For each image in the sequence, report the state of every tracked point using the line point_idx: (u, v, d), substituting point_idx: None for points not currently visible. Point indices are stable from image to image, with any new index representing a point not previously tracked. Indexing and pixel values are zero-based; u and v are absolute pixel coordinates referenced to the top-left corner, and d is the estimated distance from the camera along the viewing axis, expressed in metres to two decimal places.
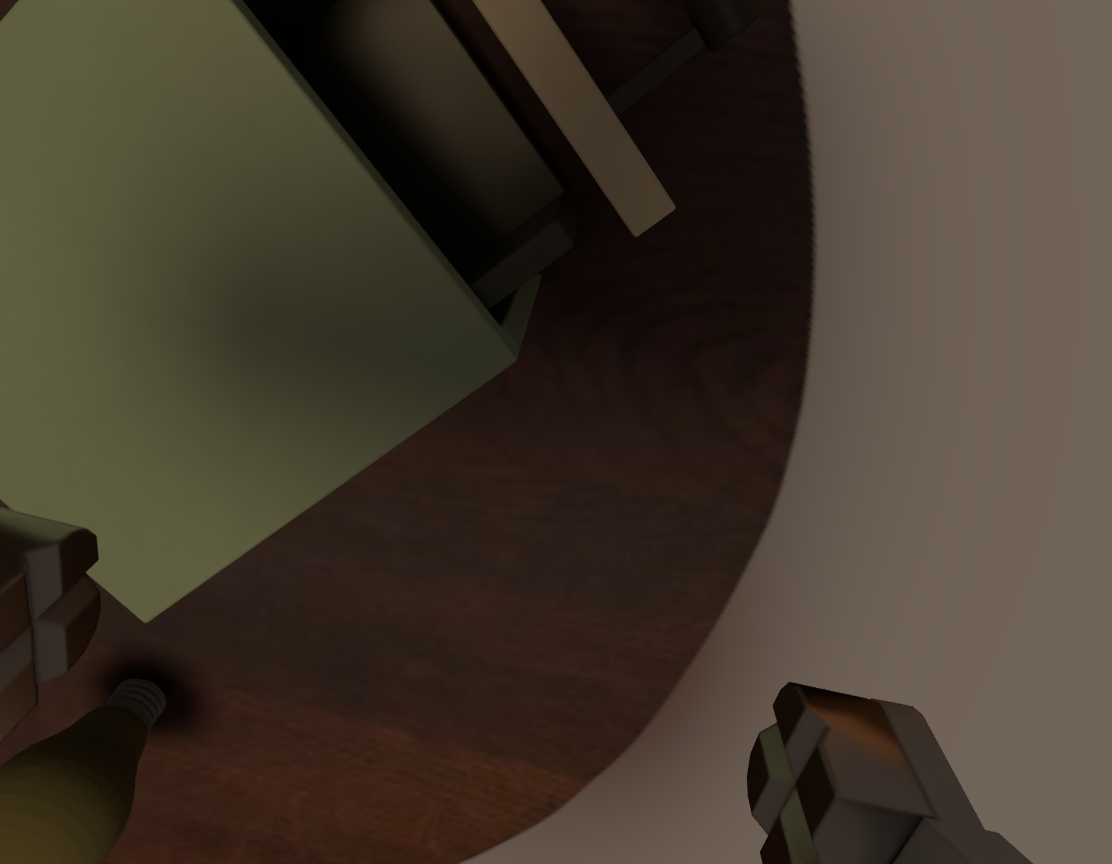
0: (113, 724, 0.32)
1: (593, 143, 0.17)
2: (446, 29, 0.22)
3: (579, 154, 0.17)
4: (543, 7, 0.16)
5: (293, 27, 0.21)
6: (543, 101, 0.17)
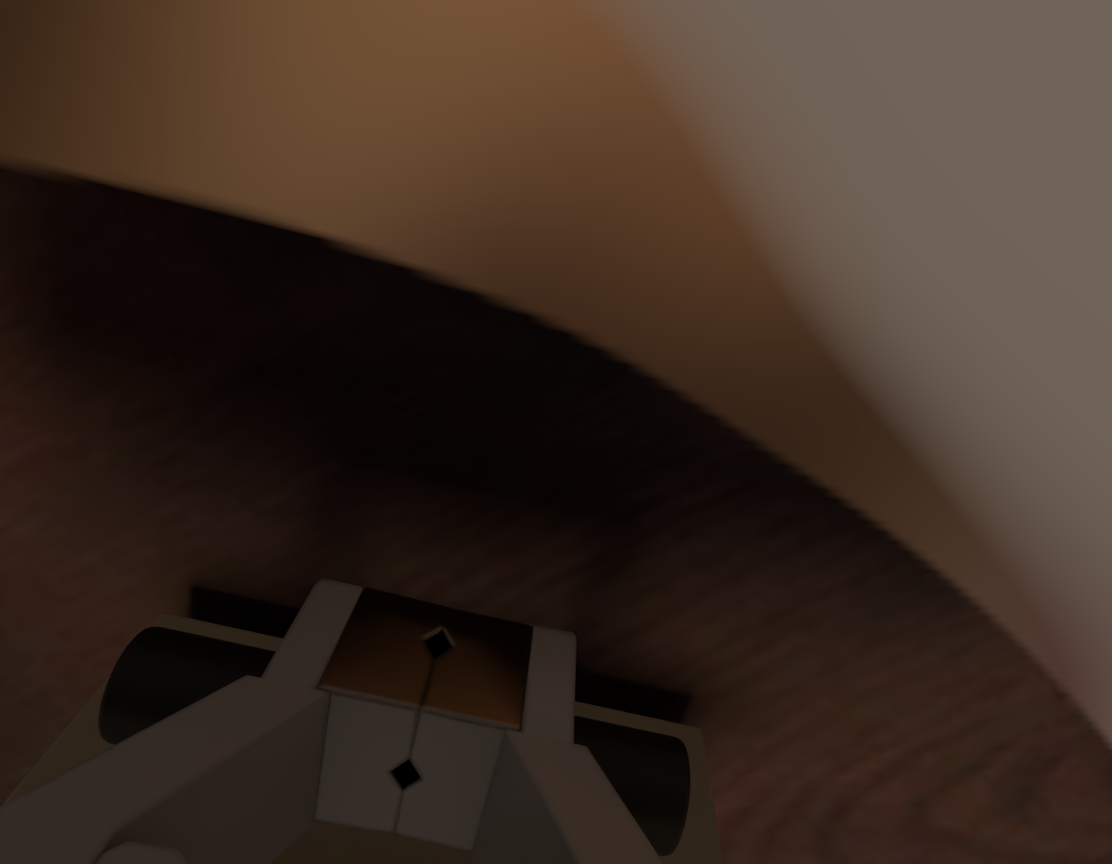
0: None
1: None
2: None
3: None
4: None
5: None
6: None
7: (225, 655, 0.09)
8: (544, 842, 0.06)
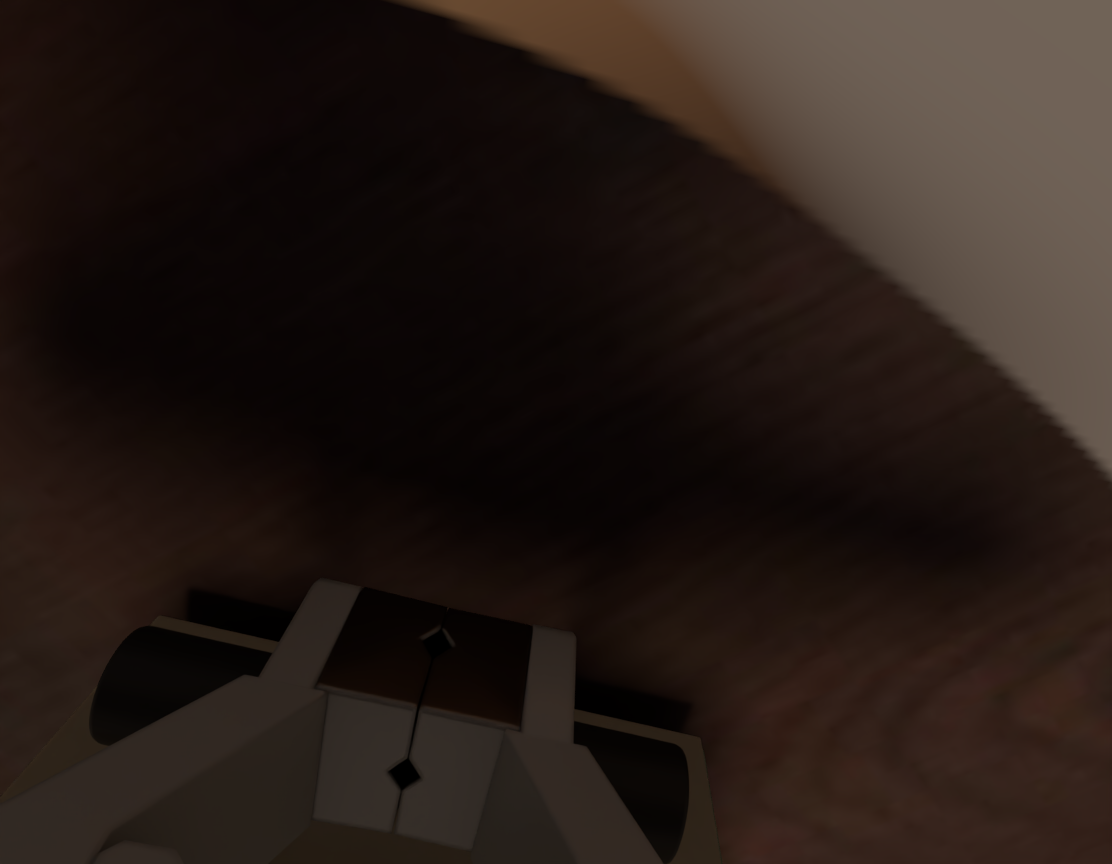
0: None
1: None
2: None
3: None
4: None
5: None
6: None
7: (218, 655, 0.09)
8: (543, 842, 0.06)
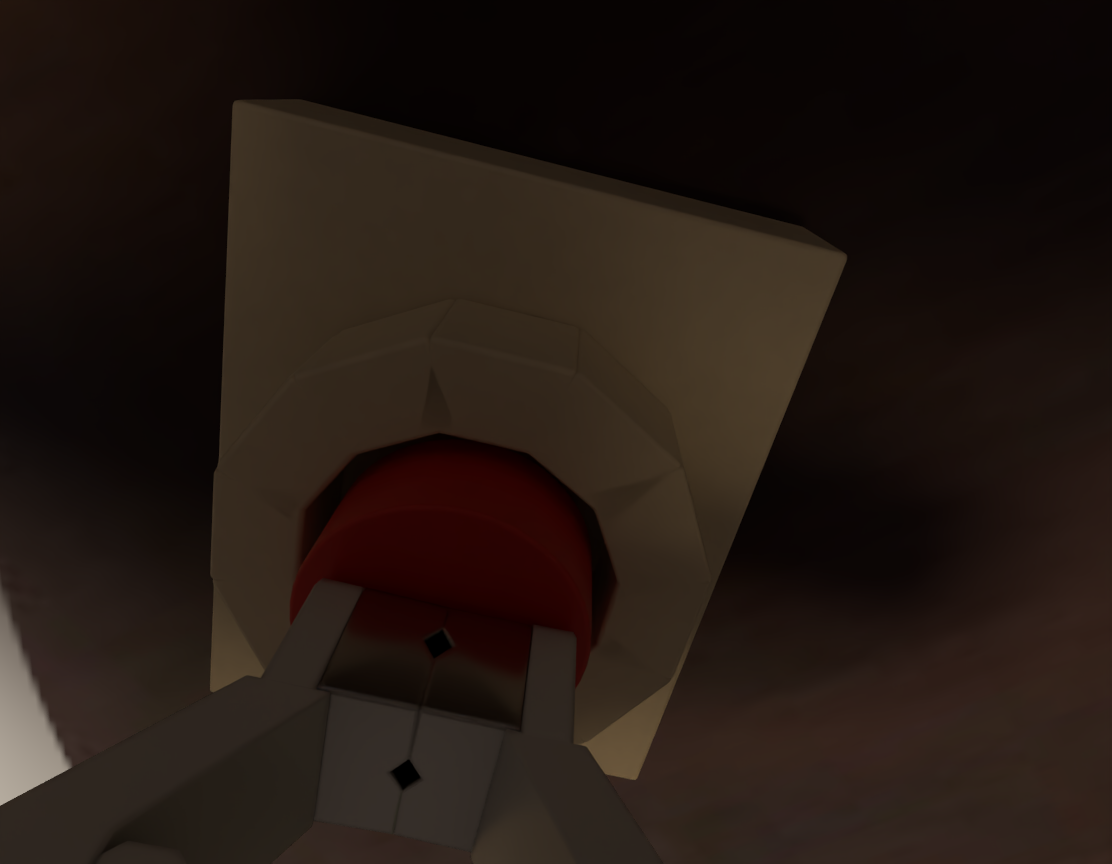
0: None
1: None
2: None
3: None
4: None
5: None
6: None
7: None
8: (544, 842, 0.06)
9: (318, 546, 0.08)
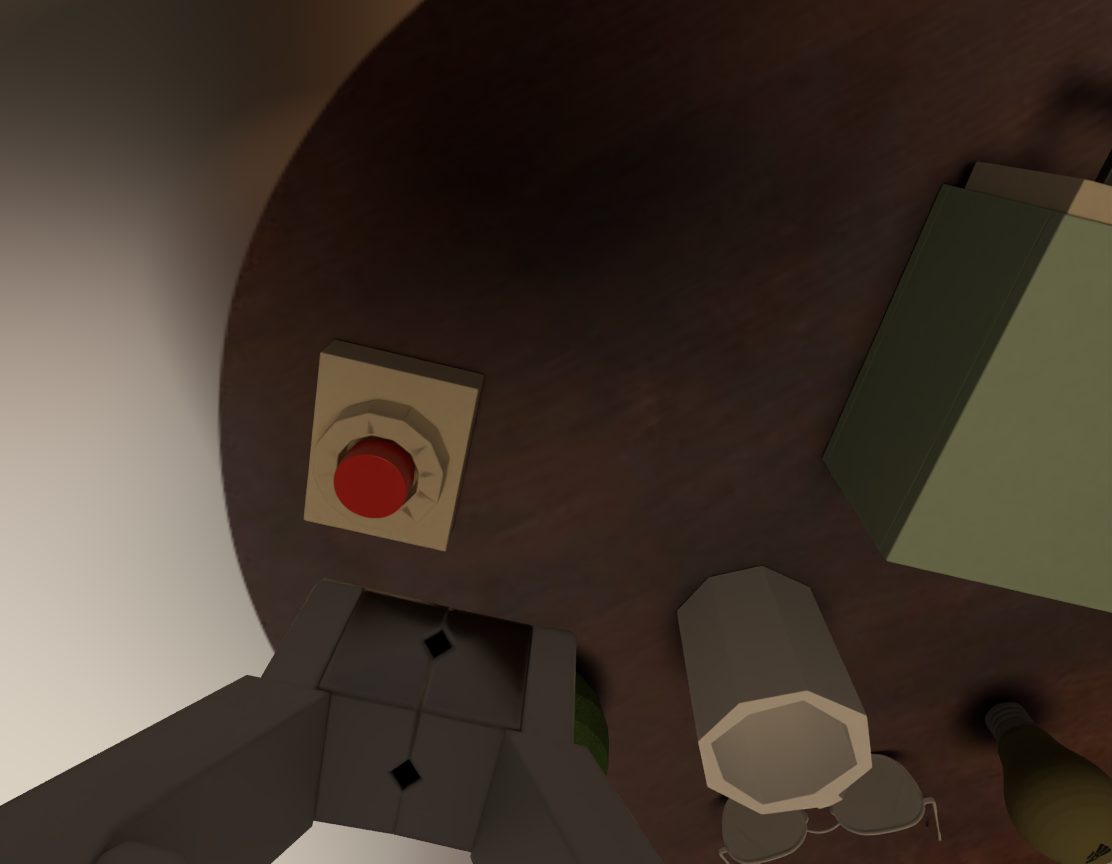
0: (1035, 735, 0.42)
1: None
2: None
3: None
4: None
5: None
6: None
7: None
8: (544, 842, 0.06)
9: (340, 463, 0.35)
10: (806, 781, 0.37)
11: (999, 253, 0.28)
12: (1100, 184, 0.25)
